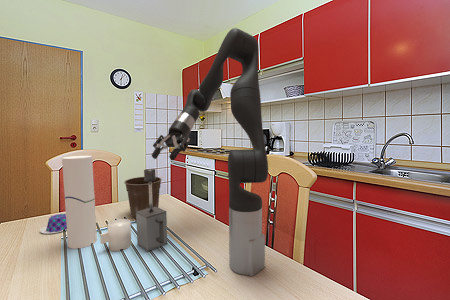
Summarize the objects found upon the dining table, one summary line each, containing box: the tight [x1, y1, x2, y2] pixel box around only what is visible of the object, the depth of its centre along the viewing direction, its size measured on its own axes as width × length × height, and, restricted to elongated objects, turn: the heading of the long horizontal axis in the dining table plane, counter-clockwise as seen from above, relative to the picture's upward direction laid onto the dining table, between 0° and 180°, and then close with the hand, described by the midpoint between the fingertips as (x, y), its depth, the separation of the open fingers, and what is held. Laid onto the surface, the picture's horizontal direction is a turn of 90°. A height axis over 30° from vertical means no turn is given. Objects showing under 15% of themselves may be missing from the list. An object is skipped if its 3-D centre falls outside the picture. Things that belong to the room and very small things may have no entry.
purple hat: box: [39, 213, 67, 235], centre depth 92 cm, size 12×12×5 cm
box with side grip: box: [135, 206, 168, 253], centre depth 77 cm, size 10×7×12 cm
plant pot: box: [123, 176, 163, 219], centre depth 106 cm, size 16×16×16 cm
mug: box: [99, 218, 132, 252], centre depth 76 cm, size 7×9×8 cm
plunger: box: [143, 168, 157, 213], centre depth 77 cm, size 5×5×16 cm
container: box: [61, 155, 98, 250], centre depth 79 cm, size 9×9×30 cm
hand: (162, 158), depth 83 cm, fingers open, 8 cm apart
